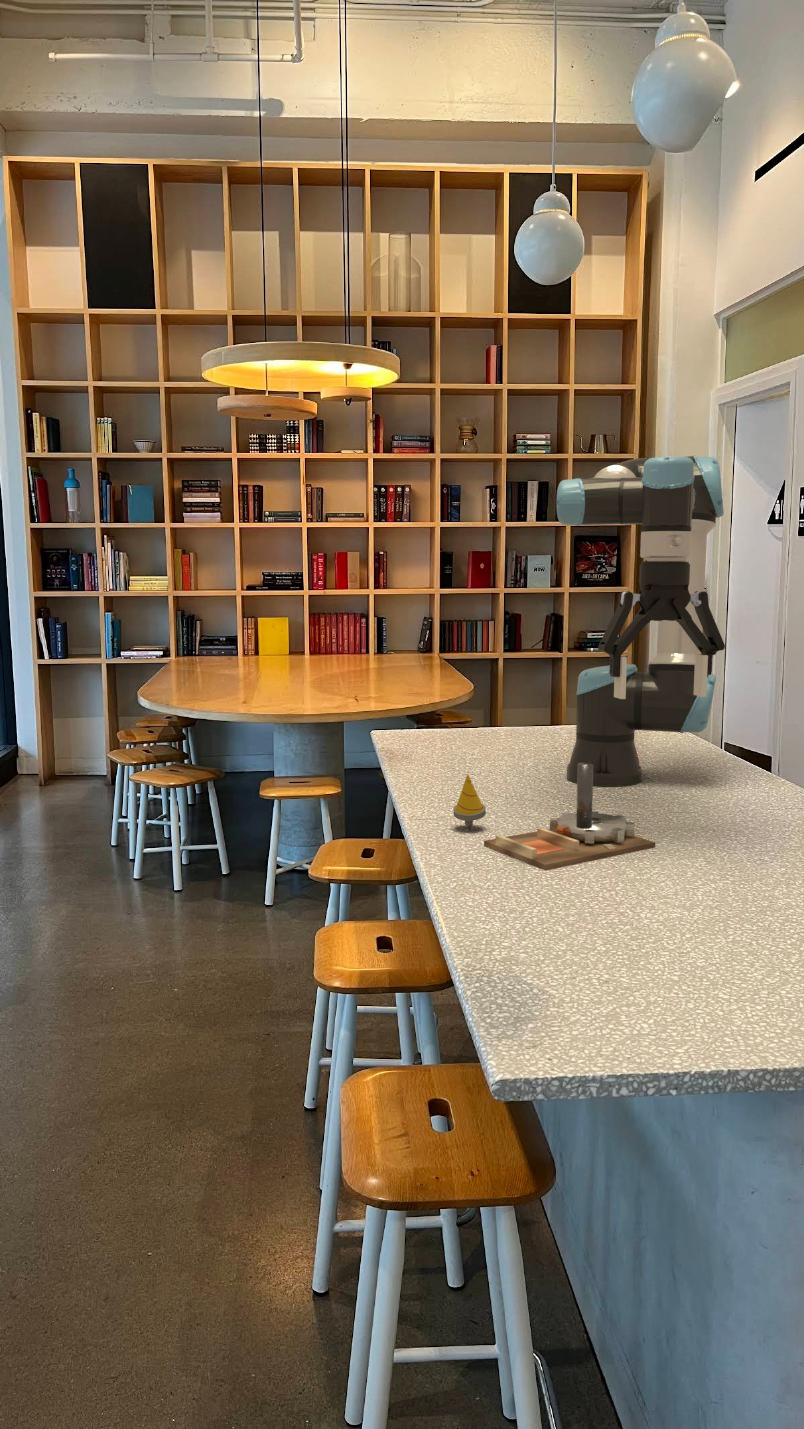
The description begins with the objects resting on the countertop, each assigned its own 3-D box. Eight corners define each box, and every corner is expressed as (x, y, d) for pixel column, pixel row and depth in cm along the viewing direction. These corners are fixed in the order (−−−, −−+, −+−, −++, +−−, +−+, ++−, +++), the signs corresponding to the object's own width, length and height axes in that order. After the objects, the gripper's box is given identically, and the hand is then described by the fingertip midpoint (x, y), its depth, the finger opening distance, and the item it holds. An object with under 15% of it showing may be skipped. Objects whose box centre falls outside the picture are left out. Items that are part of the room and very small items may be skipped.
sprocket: (533, 828, 165) (534, 757, 163) (594, 817, 172) (596, 749, 170) (588, 848, 154) (590, 771, 152) (651, 835, 161) (654, 762, 159)
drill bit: (489, 823, 173) (487, 768, 169) (482, 837, 168) (479, 782, 164) (459, 820, 174) (456, 766, 171) (450, 834, 170) (447, 779, 166)
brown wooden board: (484, 846, 160) (484, 831, 160) (589, 827, 172) (590, 813, 171) (545, 871, 148) (545, 854, 147) (655, 848, 159) (655, 833, 159)
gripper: (598, 559, 151) (594, 701, 154) (751, 560, 156) (745, 697, 159) (579, 560, 158) (576, 695, 161) (726, 560, 163) (720, 692, 166)
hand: (660, 697), depth 160 cm, fingers open, 13 cm apart
